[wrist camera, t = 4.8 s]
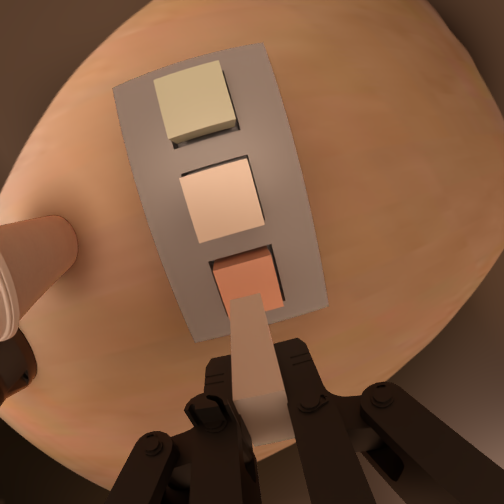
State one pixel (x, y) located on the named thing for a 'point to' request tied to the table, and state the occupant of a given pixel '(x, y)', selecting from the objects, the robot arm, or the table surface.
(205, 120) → the sage key
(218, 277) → the terracotta key
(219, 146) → the keypad board
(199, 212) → the ivory key
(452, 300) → the table surface
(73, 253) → the coffee cup
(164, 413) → the table surface
